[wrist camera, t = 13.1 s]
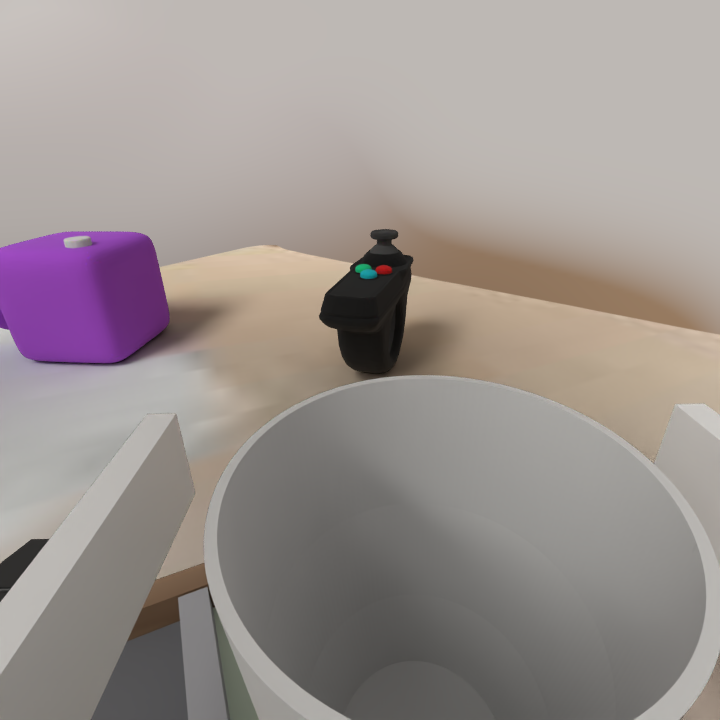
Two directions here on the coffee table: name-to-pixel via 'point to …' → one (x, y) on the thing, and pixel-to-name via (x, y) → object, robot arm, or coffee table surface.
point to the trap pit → (170, 671)
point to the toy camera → (82, 296)
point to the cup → (458, 562)
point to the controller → (371, 306)
